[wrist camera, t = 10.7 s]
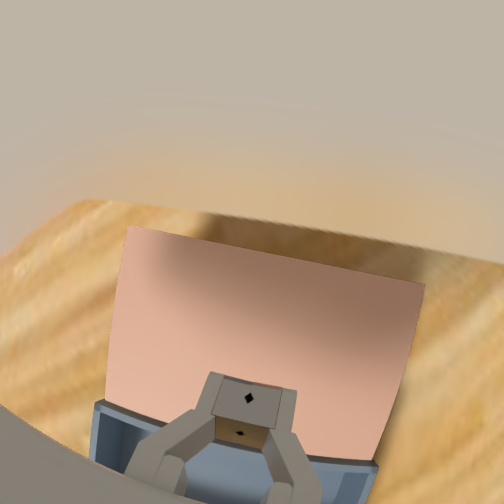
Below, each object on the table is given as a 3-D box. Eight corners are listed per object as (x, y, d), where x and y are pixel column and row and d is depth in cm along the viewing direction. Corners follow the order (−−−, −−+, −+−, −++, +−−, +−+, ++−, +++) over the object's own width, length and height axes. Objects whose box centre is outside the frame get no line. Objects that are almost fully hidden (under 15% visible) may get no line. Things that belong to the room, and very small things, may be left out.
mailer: (359, 442, 20) (379, 466, 15) (319, 546, 18) (326, 580, 13) (126, 390, 22) (94, 402, 17) (112, 497, 20) (86, 522, 15)
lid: (371, 460, 16) (369, 457, 16) (425, 284, 16) (422, 284, 16) (104, 399, 17) (107, 397, 18) (128, 224, 18) (131, 225, 18)
